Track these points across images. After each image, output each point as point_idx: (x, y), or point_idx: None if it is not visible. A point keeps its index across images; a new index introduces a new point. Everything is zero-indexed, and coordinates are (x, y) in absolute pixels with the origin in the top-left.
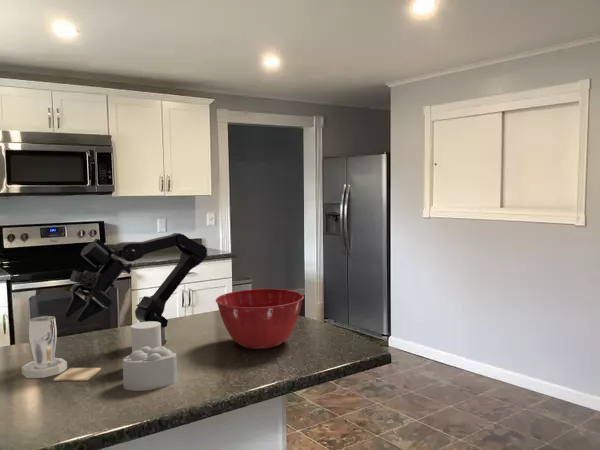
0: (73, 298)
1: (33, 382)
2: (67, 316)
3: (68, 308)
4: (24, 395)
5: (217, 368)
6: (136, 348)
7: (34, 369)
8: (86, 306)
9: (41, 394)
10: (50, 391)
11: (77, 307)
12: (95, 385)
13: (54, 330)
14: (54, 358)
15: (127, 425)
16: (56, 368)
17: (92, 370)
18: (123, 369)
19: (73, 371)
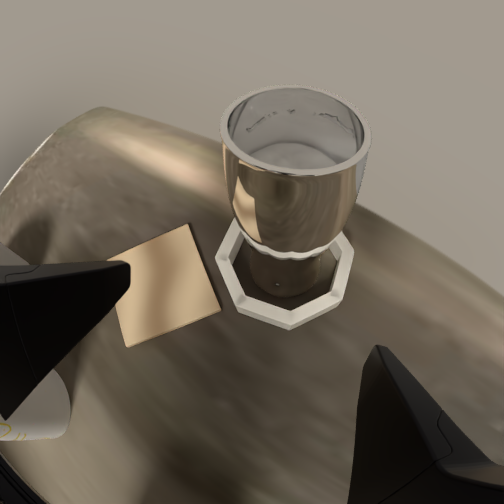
0: (451, 472)
1: None
2: (366, 367)
3: (396, 379)
4: (182, 156)
5: None
6: None
7: None
8: (6, 267)
9: (152, 172)
10: (145, 188)
11: (365, 477)
12: (76, 250)
13: (228, 190)
14: (260, 267)
15: (7, 185)
16: (219, 252)
17: (132, 317)
18: (4, 245)
19: (181, 288)
